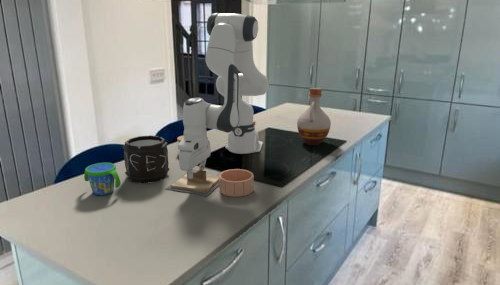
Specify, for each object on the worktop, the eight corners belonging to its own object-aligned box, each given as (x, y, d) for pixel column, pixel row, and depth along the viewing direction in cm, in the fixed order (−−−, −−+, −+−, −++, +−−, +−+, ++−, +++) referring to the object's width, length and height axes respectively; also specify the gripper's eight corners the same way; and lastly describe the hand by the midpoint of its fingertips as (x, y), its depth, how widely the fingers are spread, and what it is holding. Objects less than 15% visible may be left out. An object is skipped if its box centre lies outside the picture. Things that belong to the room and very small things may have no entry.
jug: (326, 150, 191) (330, 92, 182) (292, 147, 196) (294, 90, 187) (331, 140, 208) (335, 86, 199) (299, 137, 214) (302, 84, 205)
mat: (187, 173, 161) (187, 172, 161) (226, 178, 155) (226, 177, 155) (165, 189, 144) (165, 188, 144) (207, 196, 139) (207, 195, 139)
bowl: (227, 181, 152) (227, 167, 151) (257, 185, 148) (257, 171, 146) (214, 193, 141) (213, 179, 139) (246, 199, 136) (246, 183, 135)
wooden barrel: (124, 187, 146) (120, 149, 142) (126, 171, 163) (123, 136, 158) (171, 182, 151) (168, 145, 146) (168, 167, 168) (166, 133, 163)
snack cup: (128, 191, 143) (126, 166, 140) (106, 201, 134) (103, 175, 131) (101, 183, 150) (98, 159, 147) (78, 192, 141) (74, 167, 138)
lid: (189, 173, 159) (188, 162, 157) (221, 178, 154) (221, 167, 153) (170, 187, 145) (170, 175, 144) (205, 192, 140) (205, 180, 139)
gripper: (200, 133, 155) (201, 164, 158) (175, 146, 136) (177, 182, 140) (214, 134, 153) (214, 166, 156) (190, 148, 134) (192, 184, 138)
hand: (196, 173), depth 148 cm, fingers open, 8 cm apart
